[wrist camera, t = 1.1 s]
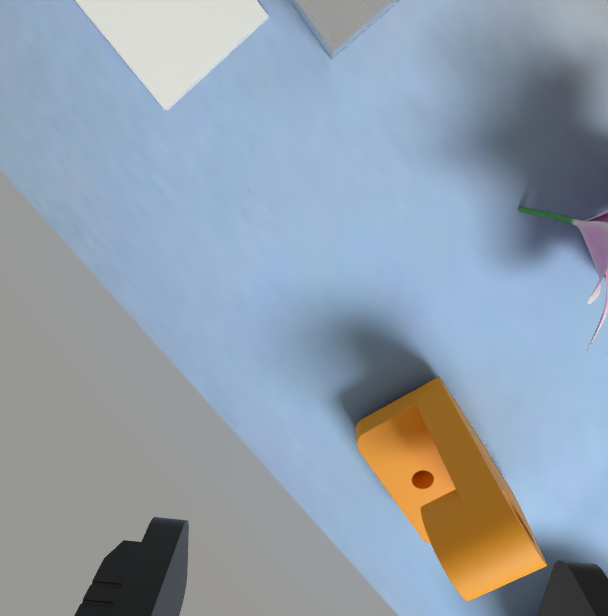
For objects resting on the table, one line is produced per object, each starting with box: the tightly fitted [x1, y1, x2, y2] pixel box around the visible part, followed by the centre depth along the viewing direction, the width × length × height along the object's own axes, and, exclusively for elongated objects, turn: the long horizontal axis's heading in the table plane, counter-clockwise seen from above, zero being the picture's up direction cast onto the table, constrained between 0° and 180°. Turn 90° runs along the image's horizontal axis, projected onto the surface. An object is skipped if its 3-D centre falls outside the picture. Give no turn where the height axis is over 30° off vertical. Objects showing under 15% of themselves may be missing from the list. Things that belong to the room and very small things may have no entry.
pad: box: [75, 0, 269, 110], centre depth 30 cm, size 8×8×1 cm
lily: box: [519, 207, 608, 352], centre depth 30 cm, size 12×12×10 cm
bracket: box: [355, 377, 547, 601], centre depth 33 cm, size 11×7×12 cm, turn 33°
